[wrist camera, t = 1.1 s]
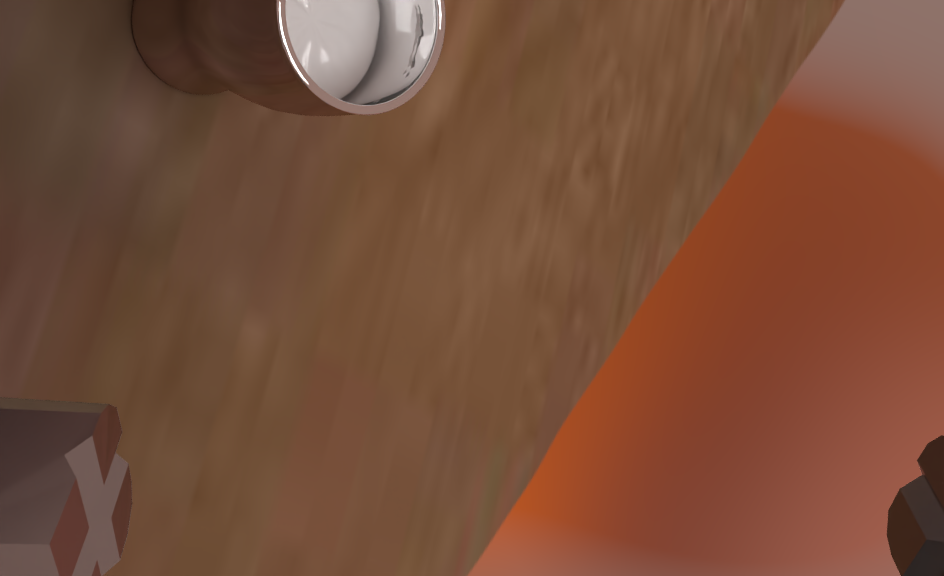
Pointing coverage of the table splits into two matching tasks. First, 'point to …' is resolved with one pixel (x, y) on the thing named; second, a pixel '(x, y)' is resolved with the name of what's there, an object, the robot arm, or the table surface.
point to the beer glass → (294, 50)
